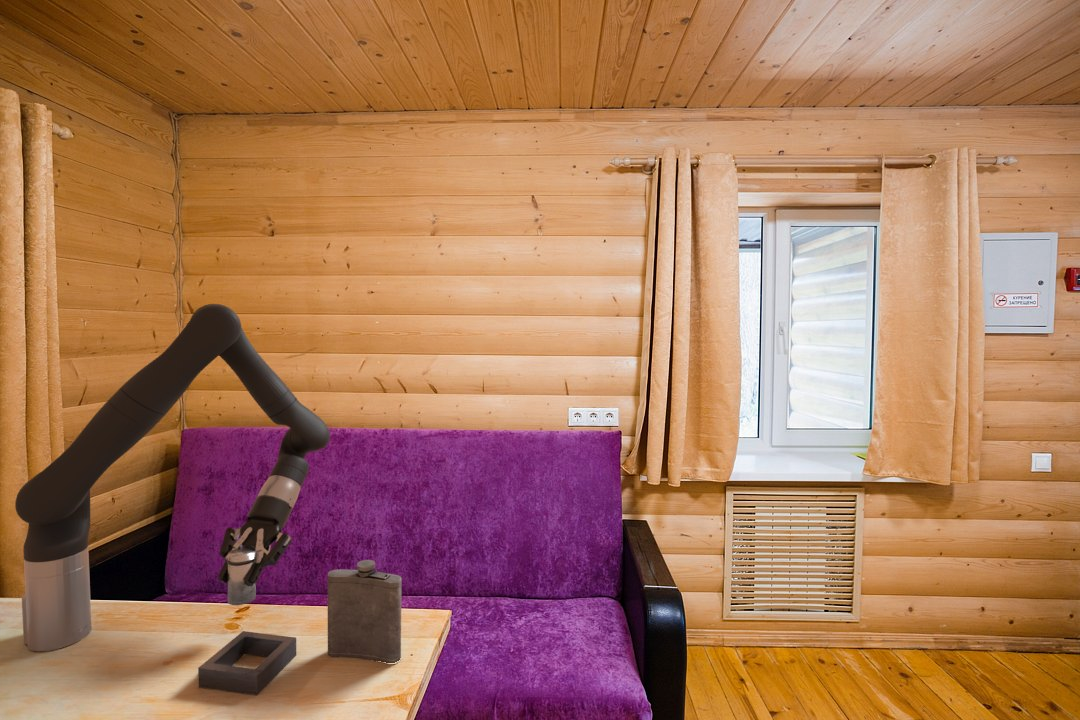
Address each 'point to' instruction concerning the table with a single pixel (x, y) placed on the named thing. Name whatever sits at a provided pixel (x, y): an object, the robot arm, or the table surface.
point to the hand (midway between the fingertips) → (235, 582)
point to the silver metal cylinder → (240, 575)
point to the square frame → (247, 680)
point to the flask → (364, 614)
